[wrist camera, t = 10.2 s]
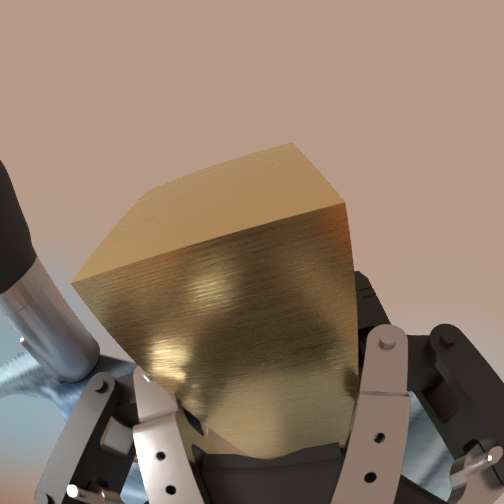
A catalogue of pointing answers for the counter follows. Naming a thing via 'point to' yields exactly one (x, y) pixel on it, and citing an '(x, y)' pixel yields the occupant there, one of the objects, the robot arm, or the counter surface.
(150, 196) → the block
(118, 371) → the counter surface
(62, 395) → the counter surface
